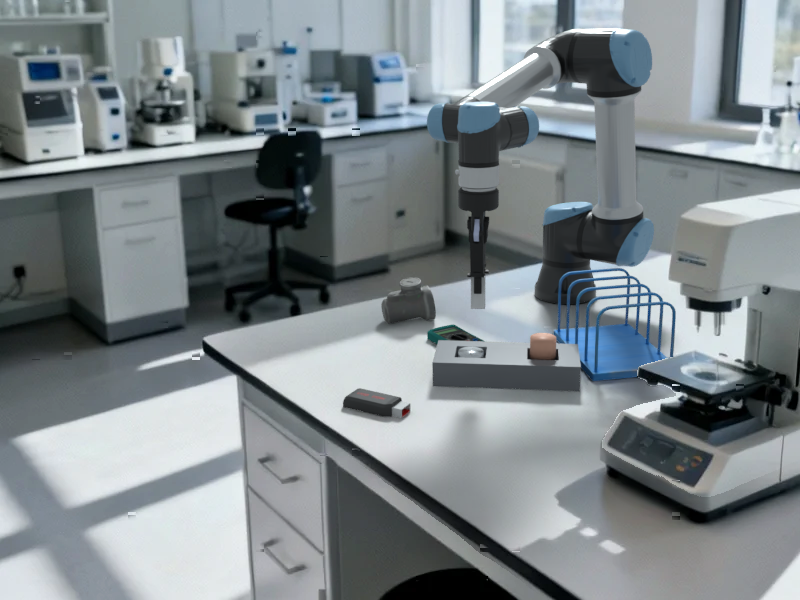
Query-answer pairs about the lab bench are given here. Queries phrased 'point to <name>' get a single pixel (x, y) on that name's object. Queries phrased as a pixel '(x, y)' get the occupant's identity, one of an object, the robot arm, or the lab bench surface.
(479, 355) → the steel plunger
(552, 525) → the lab bench surface
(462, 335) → the digital multimeter
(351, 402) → the usb drive
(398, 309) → the pipe fitting
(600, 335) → the file sorter
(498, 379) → the block
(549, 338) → the peach rounded dome part
